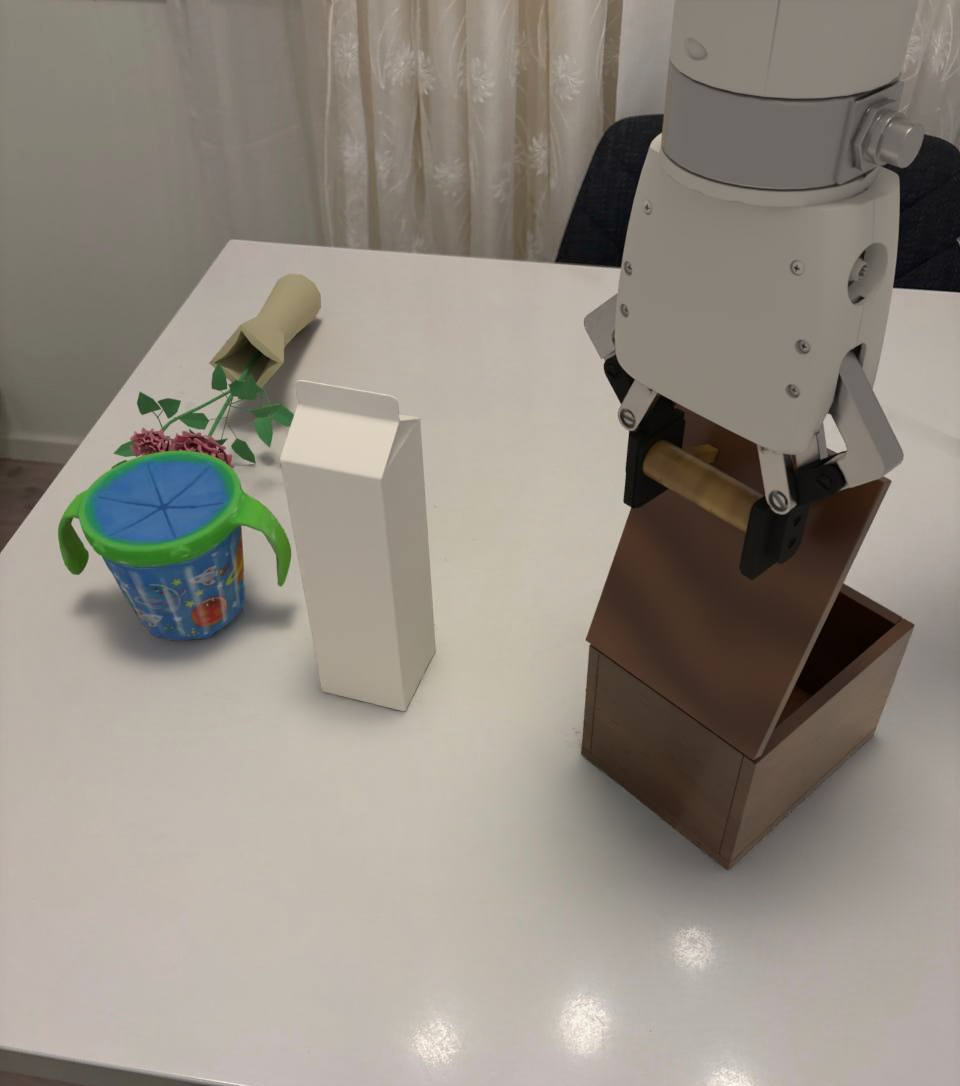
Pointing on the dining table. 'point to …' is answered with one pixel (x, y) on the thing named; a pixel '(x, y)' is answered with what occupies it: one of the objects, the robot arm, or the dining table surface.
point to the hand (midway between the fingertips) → (706, 524)
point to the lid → (723, 585)
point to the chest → (721, 769)
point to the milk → (361, 540)
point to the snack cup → (172, 539)
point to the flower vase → (238, 376)
